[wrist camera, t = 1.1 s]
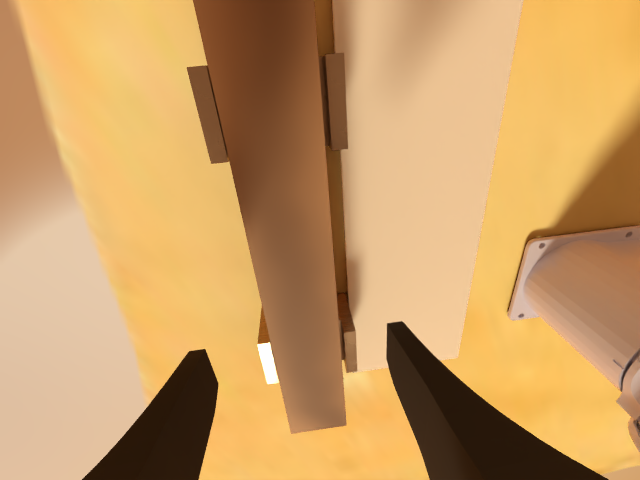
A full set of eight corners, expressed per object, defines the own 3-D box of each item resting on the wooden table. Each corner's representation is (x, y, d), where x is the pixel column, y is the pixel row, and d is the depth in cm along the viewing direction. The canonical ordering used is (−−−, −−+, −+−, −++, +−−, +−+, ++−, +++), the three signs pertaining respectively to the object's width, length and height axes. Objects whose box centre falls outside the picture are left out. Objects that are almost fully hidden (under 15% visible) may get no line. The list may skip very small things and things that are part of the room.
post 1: (331, 59, 16) (344, 52, 13) (335, 135, 18) (348, 148, 15) (209, 71, 16) (186, 67, 12) (226, 147, 18) (211, 163, 14)
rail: (304, -28, 12) (309, -61, 10) (339, 385, 25) (346, 425, 22) (206, -20, 12) (181, -51, 9) (290, 392, 24) (291, 433, 22)
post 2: (345, 292, 24) (355, 331, 20) (347, 330, 26) (357, 371, 22) (262, 303, 24) (257, 344, 20) (270, 340, 26) (267, 384, 22)
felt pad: (532, -81, 15) (539, -85, 14) (455, 354, 29) (457, 357, 28) (328, -65, 14) (329, -69, 14) (351, 369, 28) (352, 372, 28)
